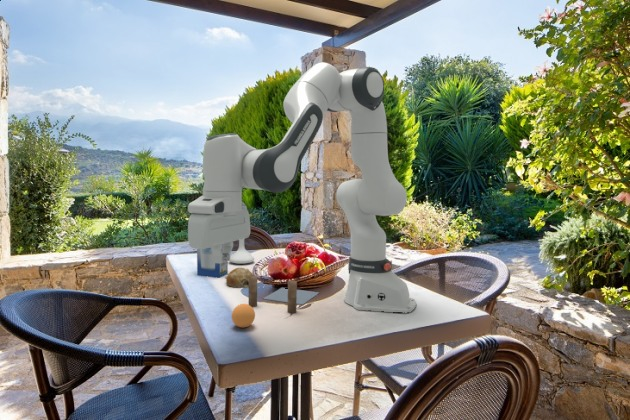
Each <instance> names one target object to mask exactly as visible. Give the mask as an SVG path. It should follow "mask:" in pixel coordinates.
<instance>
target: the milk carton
mask: <svg viewBox="0 0 630 420" xmlns="http://www.w3.org/2000/svg"><path fill="white" fill-rule="evenodd" d="M223 248H224V246H223V244H222V249H221V252H223ZM228 264H229V261H226V262H225V261H224V262H223V263H220V264H219V263H215V256H214V254H213V252H212V250H211V247H209V248H206V249H196V266H197V267H196V271H197V272H196V273H197V276H198V277H199V276H200V277H207V276H208V277H209V278H216V277H217V278H218V279H219V278H222V277H224V276H225V277H226V276H228V273H229V272H228V269H229V268H228V267H229V266H228Z"/></svg>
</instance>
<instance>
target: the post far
mask: <svg viewBox="0 0 630 420" xmlns="http://www.w3.org/2000/svg"><path fill="white" fill-rule="evenodd" d="M248 305H250V306H251V307H252V308H256V307H258V275H254V274H253V275H252V276H249V287H248Z"/></svg>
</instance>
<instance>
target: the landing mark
mask: <svg viewBox="0 0 630 420" xmlns="http://www.w3.org/2000/svg"><path fill="white" fill-rule="evenodd" d="M285 288H286V287H280V288H278V289H277V290H275V291H274V292H272V293H270V294H268V295H266V296H264V297H263V298H262V299H263V300H267V301H274V302H279V303H280V302H281V303H287V304H288V289H285ZM319 294H320V292H317V291H311V290H304V289H303V290H302V289H297V303H296V305H300V306H304V305H305V304H307V303H308V302H309V301H310V300H312V299H314V298H315V297H316V296H318V295H319Z"/></svg>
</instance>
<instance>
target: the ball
mask: <svg viewBox="0 0 630 420" xmlns="http://www.w3.org/2000/svg"><path fill="white" fill-rule="evenodd" d="M255 319H256V312H255V310H254V307H251V306H250V305H249V303H248V304H247V303H240V304H238V305H237V306H235V308H234V309H233V310H232V312H231V320H232V323H234V325H235V326H236V327H238V328H248V327H249V326H251V325H252V324H253V323H254V322H255Z"/></svg>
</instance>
